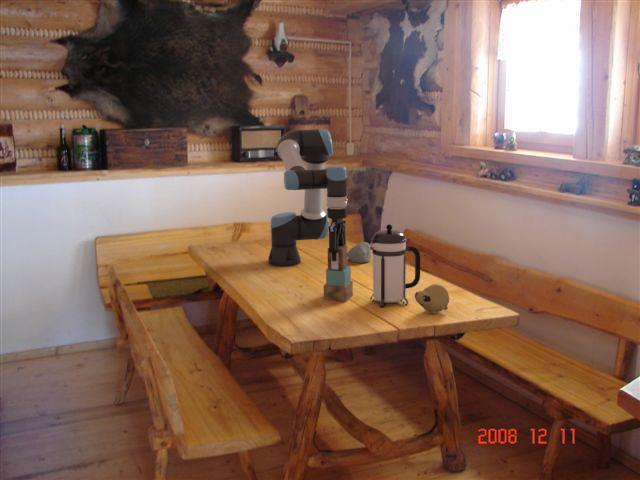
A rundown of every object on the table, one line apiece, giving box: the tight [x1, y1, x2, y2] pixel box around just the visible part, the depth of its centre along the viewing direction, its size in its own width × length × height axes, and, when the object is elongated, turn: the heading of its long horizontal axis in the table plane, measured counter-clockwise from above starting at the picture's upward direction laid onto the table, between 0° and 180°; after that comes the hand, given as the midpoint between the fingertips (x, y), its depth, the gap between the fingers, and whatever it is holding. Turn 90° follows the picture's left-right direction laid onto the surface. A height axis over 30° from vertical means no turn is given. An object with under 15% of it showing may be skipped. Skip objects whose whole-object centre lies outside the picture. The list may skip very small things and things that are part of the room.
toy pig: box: [414, 283, 450, 316], centre depth 246 cm, size 10×12×11 cm
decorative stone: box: [347, 241, 372, 264], centre depth 324 cm, size 13×11×10 cm
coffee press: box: [369, 223, 421, 309], centre depth 258 cm, size 17×16×30 cm
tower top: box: [325, 266, 352, 287], centre depth 266 cm, size 8×8×6 cm
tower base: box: [323, 280, 354, 303], centre depth 267 cm, size 9×9×6 cm
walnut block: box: [327, 245, 349, 270], centre depth 264 cm, size 6×6×8 cm
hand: (337, 266), depth 264 cm, fingers closed on walnut block, 6 cm apart
